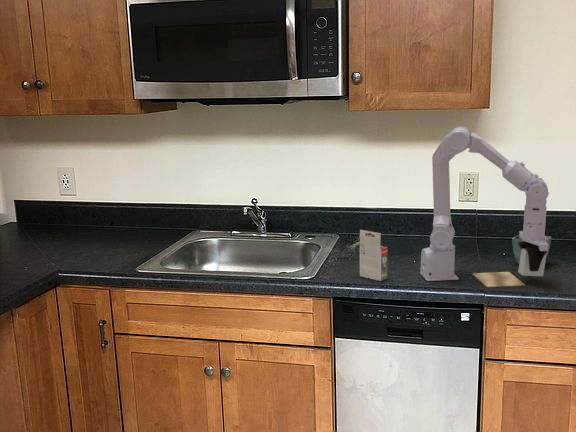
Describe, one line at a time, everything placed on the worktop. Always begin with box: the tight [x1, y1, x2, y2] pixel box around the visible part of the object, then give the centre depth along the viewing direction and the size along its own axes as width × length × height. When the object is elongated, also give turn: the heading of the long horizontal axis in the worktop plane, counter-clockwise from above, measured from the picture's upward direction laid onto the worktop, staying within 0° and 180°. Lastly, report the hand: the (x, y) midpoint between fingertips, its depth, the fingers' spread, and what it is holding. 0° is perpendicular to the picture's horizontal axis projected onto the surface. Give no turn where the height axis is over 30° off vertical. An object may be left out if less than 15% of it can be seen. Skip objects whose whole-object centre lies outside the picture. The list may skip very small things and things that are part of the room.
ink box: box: [359, 229, 388, 282], centre depth 194 cm, size 4×8×15 cm, turn 47°
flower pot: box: [511, 234, 552, 265], centre depth 202 cm, size 9×9×9 cm
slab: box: [517, 249, 548, 277], centre depth 186 cm, size 6×3×7 cm, turn 94°
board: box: [472, 271, 526, 288], centre depth 190 cm, size 11×12×1 cm
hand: (531, 268), depth 186 cm, fingers closed on slab, 3 cm apart
